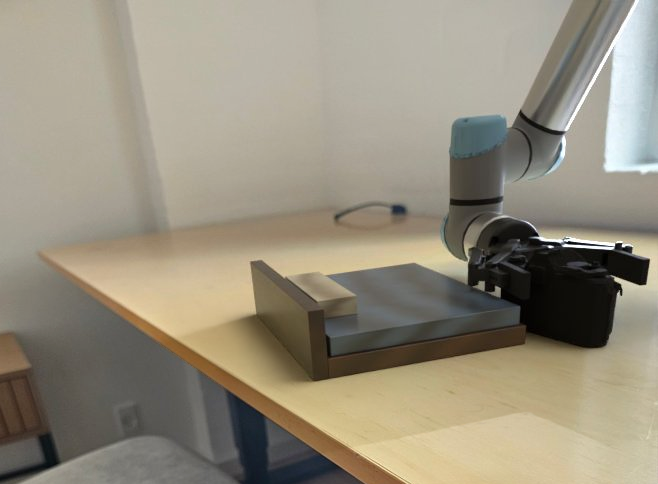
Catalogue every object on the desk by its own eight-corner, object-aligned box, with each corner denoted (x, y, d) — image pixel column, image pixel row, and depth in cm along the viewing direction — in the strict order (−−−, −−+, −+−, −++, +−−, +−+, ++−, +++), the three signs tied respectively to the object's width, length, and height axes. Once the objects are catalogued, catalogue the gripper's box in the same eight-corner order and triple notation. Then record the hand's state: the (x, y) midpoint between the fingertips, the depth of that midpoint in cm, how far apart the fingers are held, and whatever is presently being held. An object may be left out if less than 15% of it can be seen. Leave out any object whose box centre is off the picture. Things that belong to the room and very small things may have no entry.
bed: (416, 289, 94) (416, 239, 91) (525, 343, 70) (529, 277, 67) (256, 313, 89) (249, 261, 86) (313, 381, 65) (307, 311, 61)
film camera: (653, 332, 70) (667, 245, 66) (590, 352, 66) (600, 261, 62) (544, 305, 82) (551, 231, 78) (486, 321, 78) (489, 243, 74)
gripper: (585, 264, 90) (688, 301, 72) (413, 284, 88) (472, 328, 69) (591, 207, 87) (701, 229, 68) (412, 226, 84) (475, 255, 65)
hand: (586, 279), depth 68 cm, fingers open, 12 cm apart
